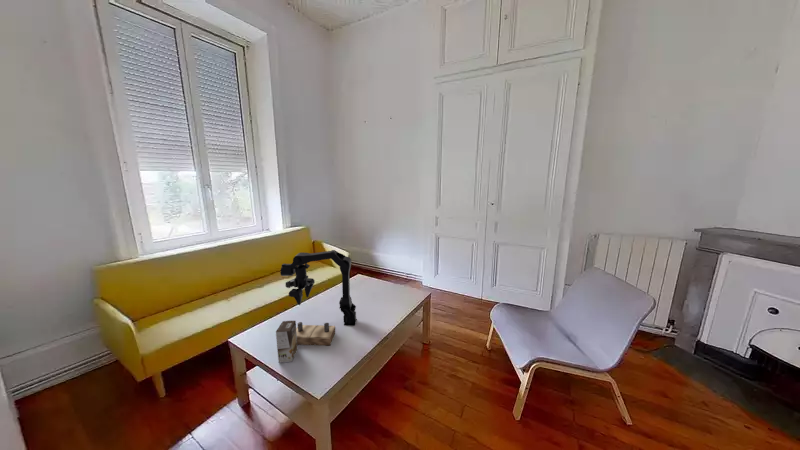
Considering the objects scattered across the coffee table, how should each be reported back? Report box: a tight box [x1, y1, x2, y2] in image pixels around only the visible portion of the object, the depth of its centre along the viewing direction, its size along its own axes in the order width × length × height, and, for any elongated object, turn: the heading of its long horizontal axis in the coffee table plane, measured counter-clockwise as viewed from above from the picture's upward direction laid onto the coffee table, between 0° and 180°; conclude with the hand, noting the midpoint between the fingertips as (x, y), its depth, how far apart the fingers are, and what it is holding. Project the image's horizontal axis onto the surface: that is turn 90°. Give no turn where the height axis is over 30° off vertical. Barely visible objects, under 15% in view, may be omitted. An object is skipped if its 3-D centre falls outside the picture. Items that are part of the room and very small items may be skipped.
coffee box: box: [275, 320, 299, 363], centre depth 126 cm, size 9×6×16 cm
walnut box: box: [297, 327, 336, 347], centre depth 140 cm, size 20×10×4 cm, turn 89°
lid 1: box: [296, 321, 317, 338], centre depth 139 cm, size 10×10×5 cm
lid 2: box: [311, 322, 336, 339], centre depth 139 cm, size 10×10×5 cm
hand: (303, 300), depth 152 cm, fingers open, 9 cm apart
